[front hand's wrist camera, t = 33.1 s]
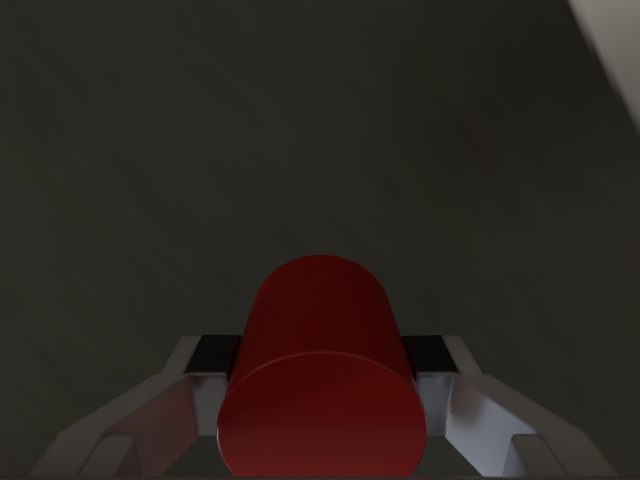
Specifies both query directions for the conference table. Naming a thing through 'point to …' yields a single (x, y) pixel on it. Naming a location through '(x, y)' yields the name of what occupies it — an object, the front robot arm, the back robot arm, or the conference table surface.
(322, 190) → the conference table surface
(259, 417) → the tin
